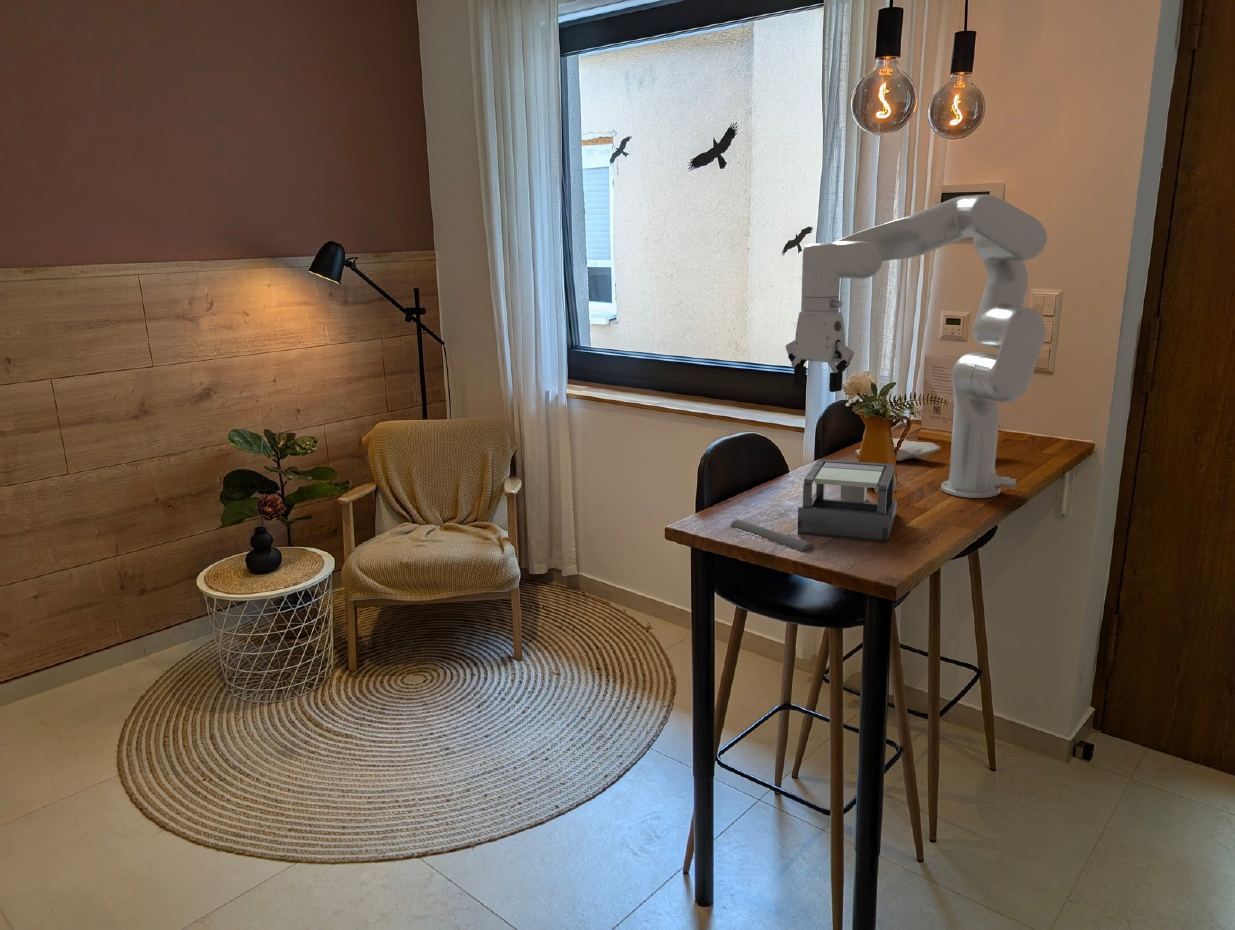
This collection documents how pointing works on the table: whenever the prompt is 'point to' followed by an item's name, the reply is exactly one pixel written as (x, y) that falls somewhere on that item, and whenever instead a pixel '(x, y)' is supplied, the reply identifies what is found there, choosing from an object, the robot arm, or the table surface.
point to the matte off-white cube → (853, 493)
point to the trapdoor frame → (848, 509)
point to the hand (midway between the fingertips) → (817, 388)
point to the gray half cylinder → (773, 536)
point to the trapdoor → (850, 475)
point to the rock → (913, 449)
